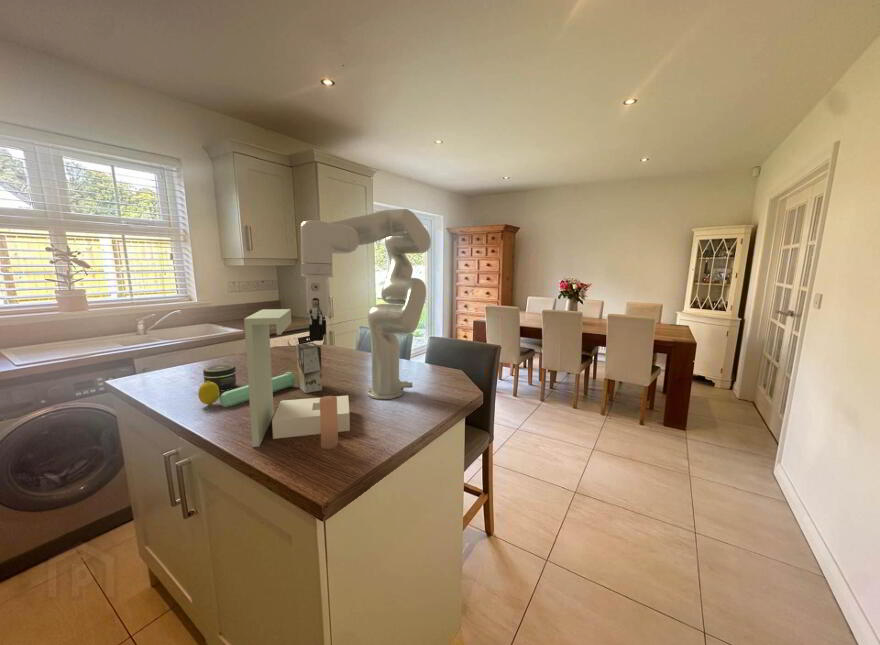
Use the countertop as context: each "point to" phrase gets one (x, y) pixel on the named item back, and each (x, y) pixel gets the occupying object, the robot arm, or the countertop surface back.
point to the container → (243, 392)
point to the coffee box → (309, 367)
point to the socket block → (306, 417)
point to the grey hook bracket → (261, 366)
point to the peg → (329, 422)
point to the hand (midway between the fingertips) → (318, 337)
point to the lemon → (208, 393)
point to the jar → (221, 376)
